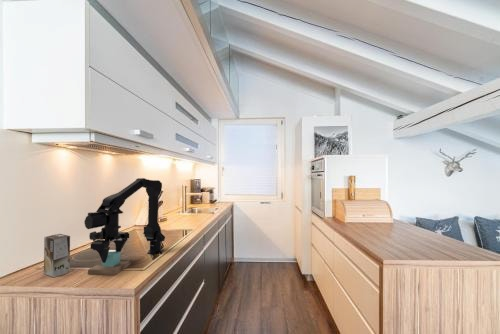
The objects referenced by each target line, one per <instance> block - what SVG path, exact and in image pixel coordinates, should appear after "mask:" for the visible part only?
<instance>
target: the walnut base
mask: <svg viewBox="0 0 500 334" xmlns="http://www.w3.org/2000/svg"><path fill="white" fill-rule="evenodd" d="M131 265H133V260H132V259H124V258H123V259H121V258H120V263H118V264H117V265H115V266H113V267H105V266H102V262H100V263H98V264H97V265H94V266H92V267H91V268H89V269H87V275H89V276H91V275H92V276H93V275H94V276H115V275H117V274H119V273H120V272H121V271H123V270H125V269H126V268H128V267H130V266H131Z"/></svg>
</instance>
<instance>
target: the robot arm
mask: <svg viewBox="0 0 500 334" xmlns="http://www.w3.org/2000/svg"><path fill="white" fill-rule="evenodd" d="M141 188H144V189H145V192H146V194H147V196H148V211H147V212H148V213H147V214H148V215H147V216H148V217H147V223H146V226H143V232H142V234H143V236H144V238H145V239H146V241H147V242H149V251H147V253H146V254H147V255H148V254H149V255H151V254H152V255H159V254H160V253H162V252H163V251H164V249H162V242H165V241H166V240H165V239H166V236H165V235H164V234H163V233H162V229H161V226H160V224H159V222H158V221H159V196H160V195H161V193H162V188H163V182H161V180H159V179H158V180H156V179H154V180H153V179H147V178H144V177H142V178H141V177H140V178H136V179H135V180H134V181H132V182H131V183H130V184H129V185H127V186H126V187H124V188H123V189H121V190H120V191H119V192H116V193H113V194H111V195H108V196H106V197H104V198H103V199H102V203H100V206H99V207H98V209H97V210H96V211H95V212H87V216H85V218H84V227H85V228H86V229H87V230H92V229H96V228H101V230H100V231H99V232H97V231H95V230H94V231H92V232H89V236H88V238H89V240H90V241H92V242H90V250H93V251H96V252H97V253H98V254H99V257H100V260H101V263H102V262H103V263H105V262H106V260H107V256H108V252H109V250H111V248H110V247H111V246H110V244H111V243H114V244H115V245H114V246H115V250H116V252H120V253H121V252H122V250H123V249H124V246H125V245H126V243H127V241H128V239H129V238H130V233H129V232H128V231H120V230H119V229H121V225H120V223H119V222H120V221H119V219H120V214H123V213H124V211H123V210H122V209H120V208H121V207H122V206H123V205H124V204H125V201H127V199H128V198H130V197H131V196H133V195H134V194H135V193H136V192H138V191H139V190H140V189H141Z"/></svg>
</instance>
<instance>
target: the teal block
mask: <svg viewBox="0 0 500 334" xmlns="http://www.w3.org/2000/svg"><path fill="white" fill-rule="evenodd" d="M120 259H121V252H108V256H107V260H106V262H105V263H103V262H102V261H101V263H102V266H105V267H113V266H115V265H117V264H118V263H120Z"/></svg>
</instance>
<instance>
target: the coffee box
mask: <svg viewBox="0 0 500 334" xmlns="http://www.w3.org/2000/svg"><path fill="white" fill-rule="evenodd" d="M43 254H44V255H43V274H44V275H46V276H49V277H51V278H56V277H60V276H62V275H66V274H69V273H70V266H71V265H70V263H71V262H70V259H71V256H70V255H71V236H70V235H69V234H68V235H67V234H62V233H57V234H56V233H55V234H52V235H48V236H44V239H43Z"/></svg>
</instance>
